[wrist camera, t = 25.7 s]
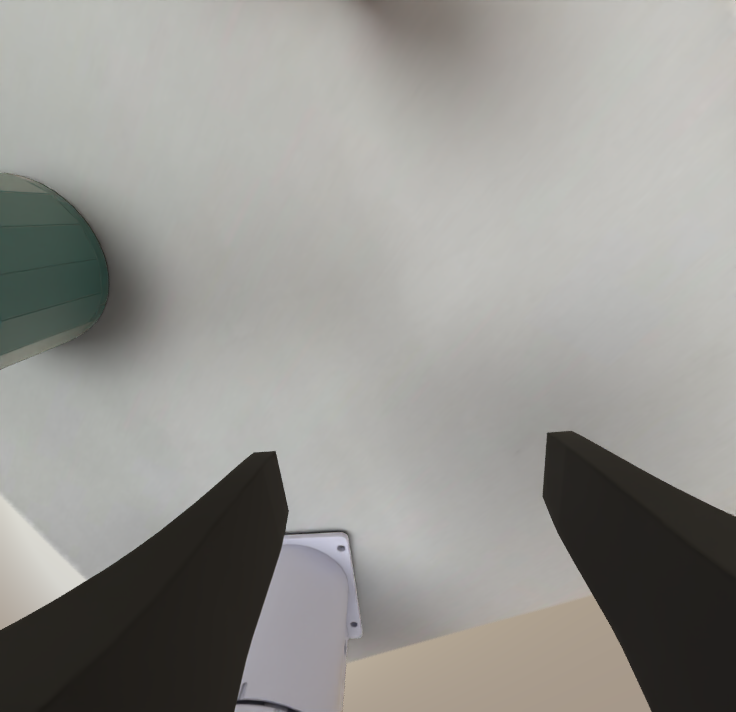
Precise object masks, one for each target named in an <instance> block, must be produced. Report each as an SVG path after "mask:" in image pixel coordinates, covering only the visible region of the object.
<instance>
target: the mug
mask: <svg viewBox="0 0 736 712" xmlns="http://www.w3.org/2000/svg"><path fill="white" fill-rule="evenodd" d="M108 289H109V277H108V270H107V264H106V260H105V257H104V254H103V251H102V249H101V247H100V244H99V242H98V240H97V238H96V236H95V235H94V233H93V231H92V230H91V228H90V227H89V225H88V224H87V223H86V221H85V220H84V219H83V217H82V216H81V215H80V214H79V213H78V212H77V211H76V209H75V208H73V207H72V206H71V205H70V204H69V203H68V202H67V201H66V200H65V199H63V198H62V197H61V196H59V195H58V194H57V193H55V192H54V191H52V190H51V189H49V188H47V187H46V186H44V185H42V184H40V183H38V182H36V181H33V180H31V179H28V178H25V177H22V176H19V175H13V174H8V173H0V370H1V369H3V368H5V367H8V366H10V365H13V364H15V363H17V362H20V361H22V360H25V359H27V358H30V357H32V356H34V355H37V354H39V353H42V352H44V351H47V350H49V349H51V348H54V347H56V346H59V345H61V344H64V343H66V342H68V341H71V340H73V339H75V338H76V337H78V336H79V335H81V334H83V333H85V332H86V331H87V330H89V329H90V328H91V327H92V326H93V325H94V324H95V323H96V321H97V320H98V319H99V317H100V315H101V314H102V312H103V310H104V307H105V305H106V301H107V297H108Z"/></svg>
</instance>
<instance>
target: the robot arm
mask: <svg viewBox="0 0 736 712" xmlns="http://www.w3.org/2000/svg"><path fill="white" fill-rule="evenodd" d="M543 499H544V501H545V504H546V506H547V509H548V511H549V514H550V516H551V518H552V521H553V523H554V525H555V528H556V530H557V532H558V534H559V536H560V538H561V540H562V542H563V543H564V545H565V547H566V549H567V551H568V552H569V554H570V556H571V558H572V559H573V561H574V563H575V565H576V566H577V568H578V570H579V572H580V573H581V575H582V577H583V579H584V580H585V582H586V584H587V586H588V587H589V589H590V591H591V592H592V594H593V596H594V598H595V599H596V601H597V603H598V605H599V606H600V608H601V610H602V612H603V613H604V615H605V617H606V619H607V620H608V622H609V624H610V625H611V627H612V629H613V631H614V633H615V635H616V637H617V639H618V641H619V642H620V645H621V646H622V648H623V651H624V653H625V655H626V657H627V659H628V661H629V663H630V666H631V668H632V670H633V672H634V674H635V676H636V678H637V681H638V683H639V685H640V687H641V689H642V691H643V694H644V695H645V698H646V700H647V702H648V704H649V707H650V709H651V711H652V712H736V517H735V516H733V515H731V514H728V513H726V512H724V511H722V510H720V509H718V508H716V507H713V506H711V505H709V504H707V503H705V502H703V501H701V500H699V499H697V498H695V497H693V496H691V495H689V494H687V493H685V492H683V491H681V490H679V489H677V488H675V487H673V486H671V485H670V484H668V483H666V482H664V481H662V480H660V479H658V478H656V477H654V476H653V475H651V474H649V473H647V472H645V471H643V470H642V469H640V468H638V467H636V466H634V465H633V464H631V463H629V462H627V461H625V460H624V459H622V458H620V457H618V456H617V455H615V454H613V453H611V452H610V451H608V450H606V449H604V448H603V447H601V446H599V445H597V444H595V443H594V442H592V441H590V440H588V439H586V438H585V437H583V436H581V435H579V434H577V433H575V432H573V431H564V432H550V433H547V443H546V457H545V471H544V485H543ZM288 512H289V510H288V506H287V501H286V497H285V492H284V488H283V483H282V478H281V474H280V469H279V465H278V460H277V455H276V451H271V452H256V453H253V454H251V455H250V456H249V457H248V458H246V459H245V460H244V461H243V462H242V463H240V464H239V465H238V466H237V467H236V468H235V469H234V470H232V471H231V472H230V473H229V474H228V475H227V476H226V477H225V478H223V479H222V480H221V481H220V482H219V483H218V484H217V485H215V486H214V487H213V488H212V489H211V490H210V491H208V492H207V493H206V494H205V495H204V496H203V497H201V498H200V499H199V500H198V501H197V502H196V503H194V504H193V505H192V506H191V507H189V508H188V509H187V510H186V511H184V512H183V513H182V514H181V515H179V516H178V517H177V518H176V519H174V520H173V521H172V522H171V523H169V524H168V525H167V526H166V527H164V528H163V529H162V530H161V531H159V532H158V533H157V534H155V535H154V536H153V537H151V538H150V539H148V540H147V541H146V542H144V543H143V544H142V545H140V546H139V547H137V548H136V549H134V550H133V551H132V552H130V553H129V554H127V555H126V556H124V557H123V558H121V559H120V560H118V561H117V562H116V563H114V564H112V565H111V566H109V567H108V568H106V569H105V570H103V571H102V572H100V573H98V574H97V575H95V576H93V577H92V578H90V579H89V580H87V581H85V582H84V583H82V584H80V585H79V586H77V587H76V588H74V589H72V590H71V591H69V592H67V593H66V594H64V595H62V596H61V597H59V598H58V599H56V600H54V601H53V602H51V603H49V604H47V605H45V606H44V607H42V608H40V609H38V610H37V611H35V612H33V613H32V614H29V615H28V616H26V617H24V618H22V619H20V620H19V621H17V622H15V623H13V624H11V625H9V626H7V627H5V628H4V629H2V630H0V712H342V711H343V699H344V687H345V674H346V661H347V648H348V639H357V638H360V637H361V636H362V632H363V628H362V622H361V615H360V609H359V602H358V596H357V590H356V583H355V577H354V570H353V564H352V557H351V551H350V544H349V538H348V535H347V534H345V533H343V532H332V533H313V534H295V535H284V534H285V529H286V523H287V518H288ZM340 545H342V546H343V547H341V546H340Z"/></svg>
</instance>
